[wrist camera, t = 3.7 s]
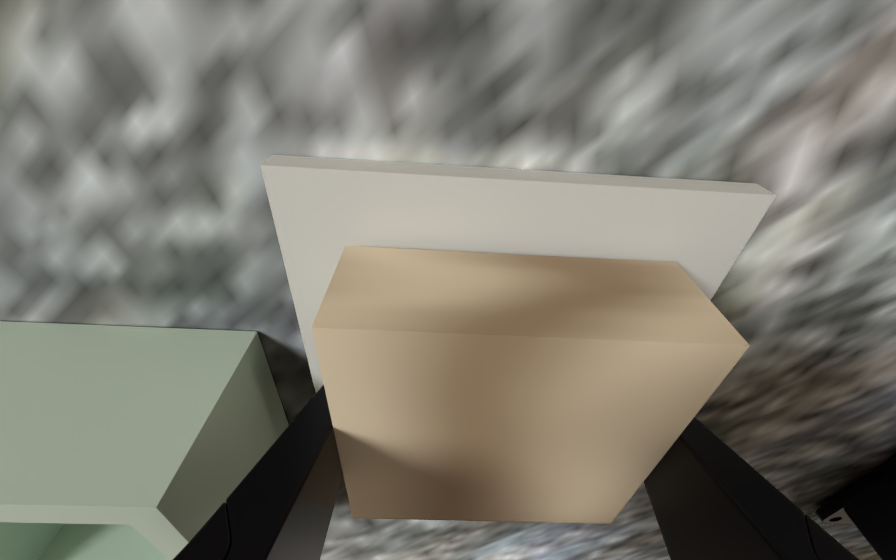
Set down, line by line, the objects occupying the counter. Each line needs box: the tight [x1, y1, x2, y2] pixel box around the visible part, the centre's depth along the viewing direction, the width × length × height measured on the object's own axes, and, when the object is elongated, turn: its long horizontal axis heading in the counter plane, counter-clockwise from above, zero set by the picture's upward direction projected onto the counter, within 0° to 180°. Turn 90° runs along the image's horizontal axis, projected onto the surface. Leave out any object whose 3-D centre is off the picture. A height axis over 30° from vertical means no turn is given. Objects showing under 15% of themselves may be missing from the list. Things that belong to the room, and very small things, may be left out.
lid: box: [311, 246, 750, 524], centre depth 9 cm, size 7×7×2 cm
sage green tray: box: [0, 321, 289, 560], centre depth 11 cm, size 8×8×4 cm
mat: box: [261, 155, 776, 393], centre depth 10 cm, size 10×10×1 cm
